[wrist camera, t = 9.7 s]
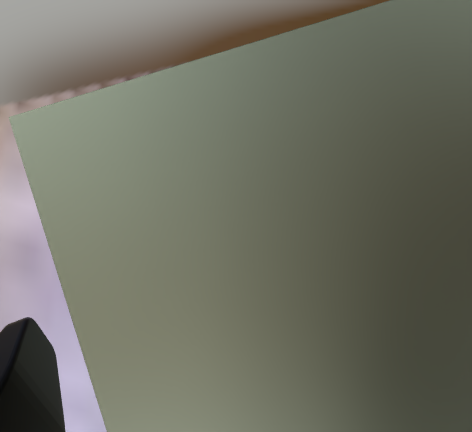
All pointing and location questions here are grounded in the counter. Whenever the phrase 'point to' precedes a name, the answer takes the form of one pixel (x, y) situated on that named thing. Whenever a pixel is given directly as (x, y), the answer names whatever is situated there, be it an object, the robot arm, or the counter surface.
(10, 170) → the counter surface
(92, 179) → the sage block
